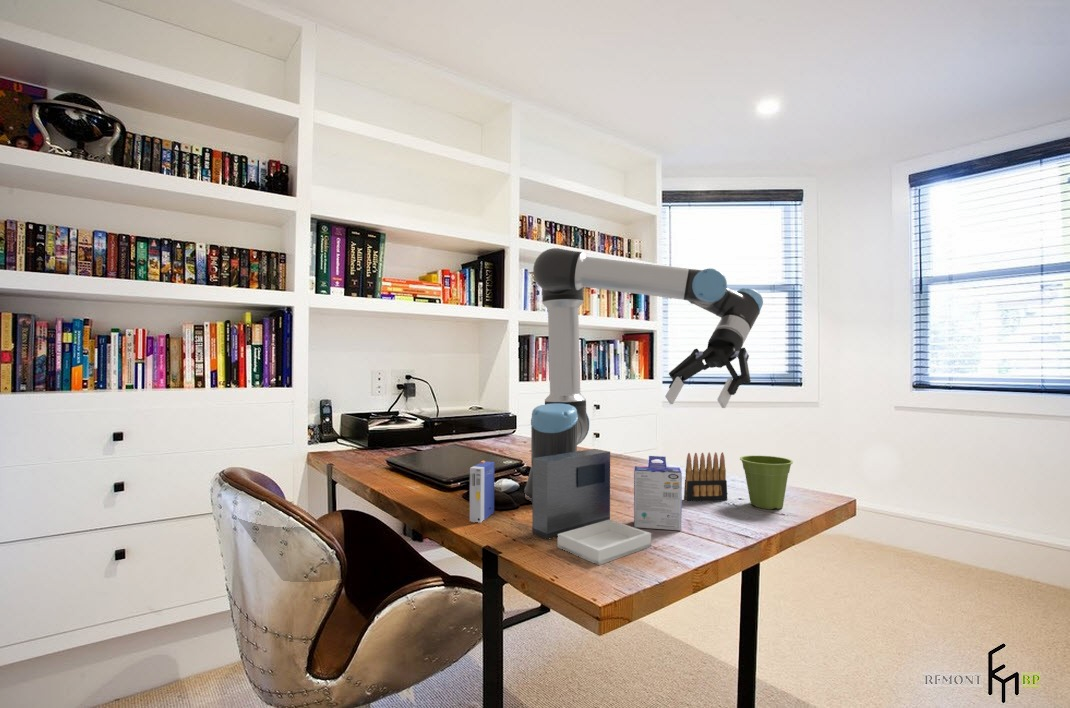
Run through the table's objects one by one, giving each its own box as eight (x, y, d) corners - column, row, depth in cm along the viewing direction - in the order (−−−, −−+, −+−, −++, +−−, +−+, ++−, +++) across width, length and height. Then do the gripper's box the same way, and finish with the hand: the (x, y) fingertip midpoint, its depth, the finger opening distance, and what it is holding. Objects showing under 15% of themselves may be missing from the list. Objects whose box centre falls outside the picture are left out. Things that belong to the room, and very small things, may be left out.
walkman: (483, 511, 118) (483, 459, 118) (494, 512, 117) (494, 460, 117) (468, 522, 110) (468, 466, 110) (480, 523, 109) (480, 467, 110)
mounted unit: (530, 532, 103) (531, 457, 104) (593, 516, 115) (593, 448, 115) (548, 540, 99) (548, 462, 99) (611, 522, 111) (611, 451, 111)
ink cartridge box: (680, 523, 110) (680, 456, 110) (682, 531, 105) (682, 461, 105) (634, 520, 112) (634, 454, 112) (633, 528, 107) (634, 459, 107)
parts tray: (557, 547, 95) (557, 534, 95) (609, 531, 104) (609, 519, 104) (598, 565, 87) (598, 550, 87) (651, 546, 96) (651, 533, 96)
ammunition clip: (724, 498, 130) (724, 451, 130) (727, 500, 128) (727, 452, 128) (683, 499, 129) (683, 452, 129) (686, 501, 127) (686, 453, 127)
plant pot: (786, 500, 128) (786, 455, 128) (799, 514, 117) (799, 465, 117) (736, 497, 131) (736, 453, 131) (744, 511, 119) (744, 462, 119)
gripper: (784, 347, 118) (752, 417, 108) (690, 349, 137) (656, 409, 128) (773, 323, 115) (739, 393, 105) (678, 329, 134) (642, 388, 124)
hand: (693, 402), depth 116 cm, fingers open, 13 cm apart
